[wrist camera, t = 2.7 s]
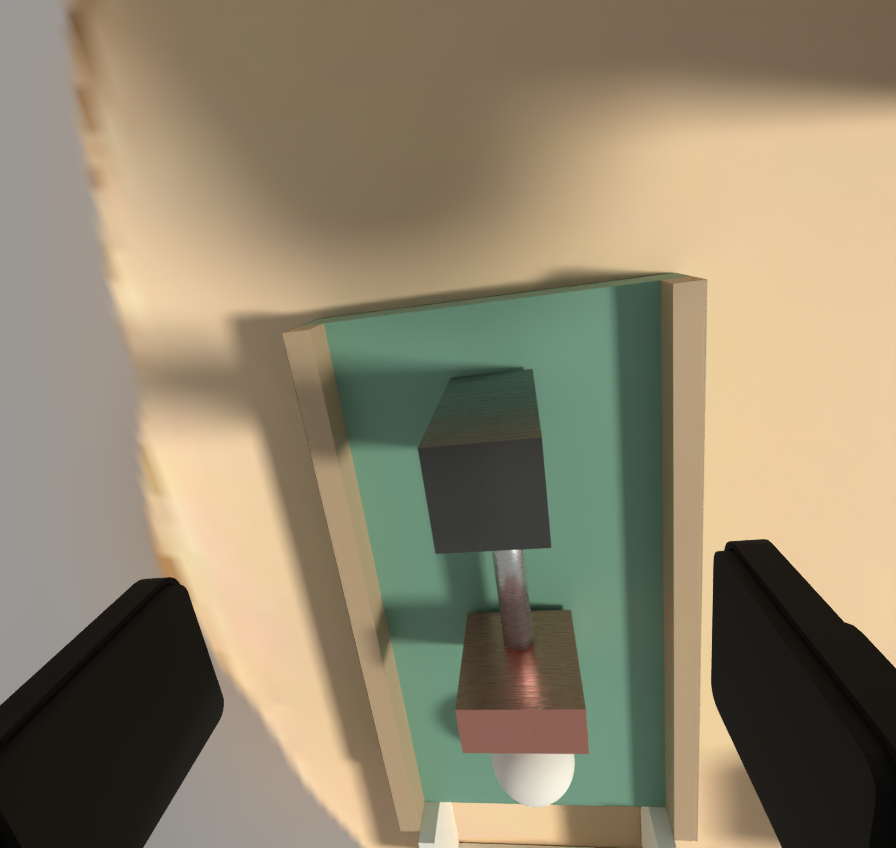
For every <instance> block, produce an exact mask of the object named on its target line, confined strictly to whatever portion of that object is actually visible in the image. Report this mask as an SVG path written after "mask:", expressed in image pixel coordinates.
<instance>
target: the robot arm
mask: <svg viewBox="0 0 896 848" xmlns="http://www.w3.org/2000/svg"><path fill="white" fill-rule="evenodd" d="M711 686H712V693H713V697H714V701H715V704H716V706H717V709H718V711H719V713H720V715H721V718H722V720H723V722H724V724H725V726H726V728H727V730H728V733H729V735H730V737H731V739H732V741H733V743H734V745H735V748H736V750H737V752H738V754H739V756H740V758H741V760H742V763H743V765H744V767H745V769H746V771H747V773H748V775H749V778H750V780H751V782H752V784H753V786H754V788H755V790H756V793H757V795H758V797H759V799H760V801H761V803H762V805H763V808H764V810H765V812H766V814H767V816H768V818H769V820H770V823H771V825H772V827H773V829H774V831H775V833H776V835H777V837H778V840H779V842H780V844H781V846H782V848H896V668H895V667H894V666H893V665H892V664H891V663H890V662H889V661H888V660H887V659H886V658H885V656H884V655H883V654H882V653H881V652H880V651H879V650H878V649H877V648H876V647H875V646H874V645H873V644H872V643H871V642H870V640H869V639H868V638H867V637H866V636H865V635H864V634H863V633H862V632H861V631H859V630H858V629H857V628H856V627H855V626H853V625H851V624H848V623H844V621H843V620H842V619H841V618H840V617H839V616H838V615H837V614H836V613H835V612H834V611H833V609H832V608H831V607H830V606H829V605H828V604H827V603H826V602H825V601H824V600H823V599H822V597H821V596H820V595H819V594H818V593H817V592H816V591H815V590H814V589H813V588H812V586H811V585H810V584H809V583H808V582H807V581H806V580H805V579H804V578H803V577H802V576H801V574H800V573H799V572H798V571H797V570H796V569H795V568H794V567H793V566H792V565H791V564H790V562H789V561H788V560H787V559H786V558H785V557H784V556H783V555H782V554H781V553H780V552H779V550H778V549H777V548H776V547H775V546H774V545H773V544H772V543H771V542H770V541H769V540H766V539H760V540H744V541H729V542H728V543H726V546H725V550H724V551H717V552H716V553H715V555H714V566H713V617H712V669H711ZM223 707H224V699H223V695H222V692H221V689H220V686H219V683H218V680H217V677H216V674H215V671H214V668H213V665H212V662H211V659H210V656H209V653H208V650H207V647H206V644H205V641H204V638H203V635H202V632H201V629H200V626H199V623H198V620H197V617H196V614H195V611H194V609H193V606H192V603H191V600H190V597H189V594H188V591H187V589H186V588H185V587H184V586H183V585H180V584H179V582H178V581H177V580H176V579H175V578H171V577H168V578H153V579H142V580H139V581H137V582H136V583H135V584H133V585H132V586H131V587H130V588H129V589H128V590H127V591H126V592H125V593H124V594H122V595H121V596H120V597H119V598H118V599H117V600H116V601H115V602H114V603H113V604H111V605H110V606H109V607H108V608H107V609H106V610H105V611H104V612H103V613H102V614H101V615H99V616H98V617H97V618H96V619H95V620H94V621H93V622H92V623H90V624H89V625H88V626H87V627H86V628H85V629H84V630H83V631H82V632H81V633H79V634H78V635H77V636H76V637H75V638H74V639H73V640H72V641H71V642H70V643H69V644H67V645H66V646H65V647H64V648H63V649H62V650H61V651H60V652H59V653H57V654H56V655H55V656H54V657H53V658H52V659H51V660H50V661H49V662H48V663H46V665H44V666H43V667H42V668H41V669H40V670H39V671H38V672H37V673H35V675H33V676H32V677H31V678H30V679H29V680H28V681H27V682H26V683H24V684H23V685H22V686H21V687H20V688H19V689H18V690H17V691H16V692H15V693H13V694H12V695H11V696H10V697H9V698H8V699H7V700H6V701H5V702H4V703H3V704H1V705H0V848H143V847H144V845H145V844H146V842H147V840H148V839H149V837H150V835H151V834H152V832H153V830H154V829H155V827H156V825H157V824H158V822H159V820H160V818H161V817H162V815H163V814H164V812H165V810H166V809H167V807H168V805H169V804H170V802H171V800H172V799H173V797H174V795H175V794H176V792H177V790H178V789H179V787H180V785H181V784H182V782H183V780H184V779H185V777H186V775H187V774H188V772H189V770H190V769H191V767H192V765H193V764H194V762H195V760H196V759H197V757H198V755H199V754H200V752H201V750H202V749H203V747H204V745H205V744H206V742H207V740H208V739H209V737H210V735H211V734H212V732H213V730H214V729H215V727H216V725H217V724H218V722H219V720H220V718H221V716H222V712H223Z"/></svg>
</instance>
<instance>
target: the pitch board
mask: <svg viewBox="0 0 896 848" xmlns="http://www.w3.org/2000/svg"><path fill="white" fill-rule="evenodd" d="M706 323H707V279H703V278H698V277H693V276H688V275H683V274H679V273H669V274H661V275H653V276H646V277H638V278H630V279H622V280H615V281H607V282H599V283H592V284H584V285H576V286H568V287H561V288H553V289H545V290H538V291H530V292H522V293H514V294H507V295H499V296H491V297H484V298H476V299H468V300H460V301H453V302H445V303H437V304H429V305H422V306H414V307H406V308H399V309H391V310H383V311H375V312H368V313H360V314H352V315H345V316H337V317H329V318H321V319H316V320H314V321H311V322H309V323H306V324H304V325H301V326H299V327H296V328H294V329H291V330H289V331H286V332H284V333H282V335H283V339H284V343H285V348H286V352H287V356H288V360H289V364H290V369H291V373H292V377H293V381H294V386H295V390H296V394H297V398H298V402H299V407H300V411H301V415H302V419H303V423H304V428H305V432H306V436H307V440H308V444H309V449H310V453H311V457H312V461H313V465H314V470H315V474H316V478H317V482H318V487H319V491H320V495H321V499H322V503H323V508H324V512H325V516H326V520H327V524H328V529H329V533H330V537H331V541H332V545H333V550H334V554H335V558H336V562H337V567H338V571H339V575H340V579H341V583H342V588H343V592H344V596H345V600H346V604H347V609H348V613H349V617H350V621H351V625H352V630H353V634H354V638H355V642H356V647H357V651H358V655H359V659H360V663H361V668H362V672H363V676H364V680H365V684H366V689H367V693H368V697H369V701H370V705H371V710H372V714H373V718H374V722H375V727H376V731H377V735H378V739H379V743H380V748H381V752H382V756H383V760H384V764H385V769H386V773H387V777H388V781H389V785H390V790H391V794H392V798H393V802H394V807H395V811H396V815H397V819H398V823H399V828H400V831H403V832H420V829H421V822H422V816H423V810H424V804H425V802H461V803H504V804H521V803H519V802H517V801H515V800H514V799H512V798H511V797H510V796H509V795H508V794H507V793H506V792H505V791H504V790H503V788H502V787H501V785H500V784H499V782H498V780H497V778H496V775H495V772H494V769H493V764H492V753H463V752H462V746H461V741H460V735H459V729H458V723H457V717H456V712H455V708H456V700H457V692H458V684H459V676H460V668H461V660H462V653H463V645H464V637H465V629H466V621H467V613H488V612H500V609H499V602H498V594H497V586H496V578H495V570H494V562H493V555H492V551H484V552H465V553H446V554H435V548H434V542H433V536H432V531H431V525H430V519H429V513H428V507H427V501H426V495H425V489H424V483H423V477H422V471H421V465H420V459H419V453H418V446H419V444H420V442H421V440H422V438H423V436H424V434H425V431H426V429H427V427H428V425H429V423H430V421H431V419H432V416H433V414H434V412H435V410H436V408H437V406H438V404H439V401H440V399H441V397H442V395H443V393H444V391H445V389H446V386H447V384H448V382H449V380H450V378H451V377H460V376H470V375H479V374H488V373H498V372H507V371H517V370H526V369H533V376H534V383H535V390H536V398H537V405H538V412H539V420H540V427H541V434H542V444H543V455H544V467H545V478H546V490H547V501H548V513H549V525H550V536H551V548H541V549H524V550H525V560H526V569H527V579H528V588H529V598H530V607H531V611H546V610H571V614H572V620H573V627H574V633H575V640H576V647H577V653H578V660H579V667H580V673H581V680H582V686H583V693H584V700H585V706H586V717H587V731H588V745H589V754H574V758H575V767H574V774H573V778H572V781H571V783H570V786H569V788H568V789H567V791H566V792H565V794H564V795H563V796H562V797H561V798H560V799H558V800H557V801H556V802H554V803H552V804H550V805H590V806H633V807H666V811H667V814H668V818H669V822H670V826H671V829H672V833H673V837H674V840H680V841H697V837H698V780H699V723H700V666H701V608H702V551H703V494H704V437H705V380H706Z"/></svg>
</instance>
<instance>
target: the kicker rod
mask: <svg viewBox="0 0 896 848" xmlns="http://www.w3.org/2000/svg"><path fill="white" fill-rule="evenodd" d="M418 453H419V459H420V465H421V471H422V477H423V483H424V489H425V495H426V501H427V507H428V513H429V519H430V525H431V531H432V536H433V542H434V548H435V554H446V553H465V552H484V551H492V555H493V562H494V570H495V578H496V586H497V594H498V602H499V609H500V612H488V613H467V621H466V629H465V637H464V645H463V653H462V660H461V668H460V676H459V684H458V692H457V700H456V708H455V712H456V717H457V723H458V729H459V735H460V741H461V746H462V752H463V753H510V754H589V745H588V731H587V717H586V706H585V700H584V693H583V686H582V680H581V673H580V667H579V660H578V653H577V647H576V640H575V633H574V627H573V620H572V614H571V610H546V611H531V607H530V598H529V588H528V579H527V569H526V560H525V550H524V549H541V548H551V536H550V525H549V513H548V501H547V490H546V478H545V467H544V455H543V444H542V434H541V427H540V420H539V412H538V405H537V398H536V390H535V383H534V376H533V369H526V370H517V371H507V372H498V373H488V374H479V375H470V376H460V377H451V378H450V380H449V382H448V384H447V386H446V389H445V391H444V393H443V395H442V397H441V399H440V401H439V404H438V406H437V408H436V410H435V412H434V414H433V416H432V419H431V421H430V423H429V425H428V427H427V429H426V431H425V434H424V436H423V438H422V440H421V442H420V444H419V446H418Z"/></svg>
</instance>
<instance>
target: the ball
mask: <svg viewBox="0 0 896 848" xmlns="http://www.w3.org/2000/svg"><path fill="white" fill-rule="evenodd" d="M492 764H493V769H494V772H495V775H496V778H497V780H498V782H499V784H500V785H501V787H502V788H503V790H504V791H505V792H506V793H507V794H508V795H509V796H510V797H511V798H512V799H514V800H515V801H517V802H519V803H521V804H523V805H526V806H530V807H544V806H547V805H550V804H552V803H554V802H556V801H557V800H558V799H560V798H561V797H562V796H563V795H564V794H565V792H566V791H567V789H568V788H569V786H570V783H571V781H572V778H573V774H574V767H575V758H574V754H510V753H492Z"/></svg>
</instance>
